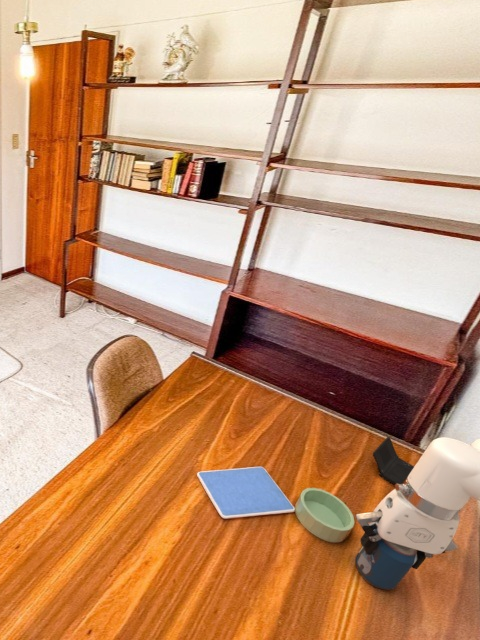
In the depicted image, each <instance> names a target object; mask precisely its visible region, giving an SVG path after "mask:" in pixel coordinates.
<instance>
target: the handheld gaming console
mask: <svg viewBox="0 0 480 640" xmlns="http://www.w3.org/2000/svg"><path fill="white" fill-rule="evenodd" d="M372 455H373V458H374V461H375V463H376V466H377V468H378V471H379V477H381V478H382V479H384V480H385V481H387V482H389V483H391V484H392V485H393V486H395V484H396V483H397V484H403V483H404V481H405V480H406V478H407V477H408V475H409V474H410V472H411V471H412V469H413V468H414V467H415V465H413V464H411V463H409V462H408V461H406V460H404V459H402V458H400V457H399V455H398V454H397V452H396V449H395V446H394V445H393V442H392V438H391V437H390V436H387V437H385V438H384V440H383V441H382V442H381V443H380V444H379V445H378V447H377V448H376V449H374V451H373V452H372Z"/></svg>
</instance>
